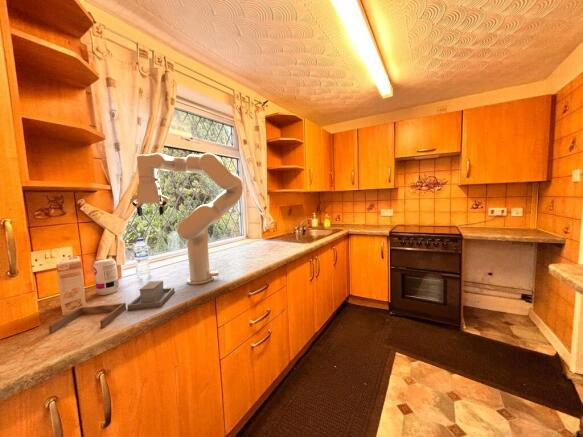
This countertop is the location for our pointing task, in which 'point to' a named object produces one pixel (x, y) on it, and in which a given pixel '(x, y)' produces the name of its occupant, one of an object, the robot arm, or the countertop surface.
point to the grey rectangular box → (152, 292)
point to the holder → (115, 309)
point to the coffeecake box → (70, 284)
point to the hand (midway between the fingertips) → (151, 215)
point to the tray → (138, 305)
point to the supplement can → (106, 276)
